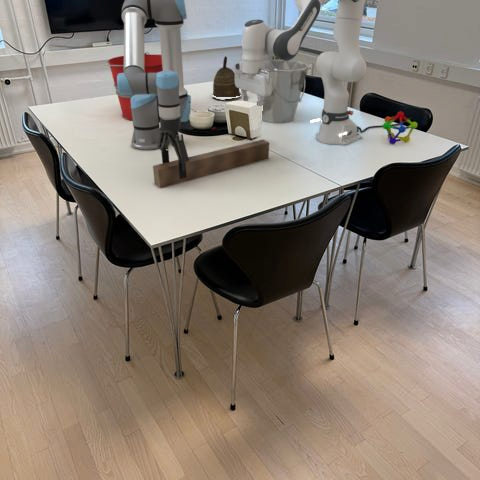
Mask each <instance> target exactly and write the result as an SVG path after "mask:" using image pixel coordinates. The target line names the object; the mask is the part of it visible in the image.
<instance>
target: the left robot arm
mask: <svg viewBox="0 0 480 480" xmlns="http://www.w3.org/2000/svg"><path fill="white" fill-rule="evenodd" d="M187 18H188V16H187V9H186V3H185V0H124V2H123V4H122V7H121V20H122V22H123V56H124V73H119V74H118V75H117V85H118V90H119V92H120V94H123V95H134V96H133V97H132V98H131V110H132V118H133V120H132V125H133V132H132V135H131V142H130V143H131V147H132V148H134V149H135V150H141V151H151V150H153V151H154V150H157V149H159V151H161V162H162V163H161V164H163V163H167V162H170V152H169V146H170V145H171V146H172V147H173V149H174V152H175V154H176V157H177V160H179V161H178V167H179V179H183V178H186V177H187V175H186V162H188V161H189V158H188V157H189V155H188V150H187V147H186V144H185V143H186V142H185V138H184V134H183V133H179V130H180V129H181V128H182V123H184V122H185V123H186V122H188V121H189V120H190V118H191V117H190V116H191V107H192V95H191V94H188V90H187V89H186V88H185V84H184V83H185V82H184V70H183V69H184V68H183V54H182V53H183V51H182V38H181V37H182V35H181V28H182V27H183V25H184V22H185V21H184V20H186V19H187ZM148 20H154V25H155V26H156V27H157V28H158V31H159V43H160V55H161V56H162V68H163V71H161V72H158V73H145V70H144V53H145V25H146V24H147V21H148ZM157 94H158V96H157Z"/></svg>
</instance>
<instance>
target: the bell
mask: <svg viewBox="0 0 480 480" xmlns="http://www.w3.org/2000/svg"><path fill="white" fill-rule="evenodd" d="M227 63H228V57H227V56H224V58H223V63H222V67H221V68H219V69H218V70H217V71H216V73H215V75H214V78H213V81H212V83H213V84H212V95H214V96H216V97H236V96H240V95H241V96H242V93H241V90H240V88H237V87H236V85H235V71H234V70H232V69H231V68H230V67H227Z"/></svg>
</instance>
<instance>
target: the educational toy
mask: <svg viewBox="0 0 480 480" xmlns="http://www.w3.org/2000/svg"><path fill="white" fill-rule="evenodd" d="M397 119H399V123H400V125H399V127H398V126H390V125H391V124H393V123H394V122H395V121H396V120H397ZM408 119H409V118H408V117H406V116H405V113H404V112H403V111H401V110H400V111H398V112H397V114H396V115H394V116H391V117H390V116H386V117H385V118H384V122H383V123H382V125H383V127H382V129H383V130H386V132H387V138H388V142H389V145H395V144H396V143H397V142H402V141H403V142H404V143H409V142H410V140H411V138H410V136H411V134H412V132H413V131H414V130H415V129H417V127H418V122H417V121H412V120H411V119H410V120H408ZM403 120H404V121H407V122H406V123H408V124H409V125H407V126H404V123H402V122H403ZM392 129H393V130H397V131H398V132H396V134H395V133H394V132H392ZM408 129H409V131H408V133H407V134H406V135H404V136H401V134H403V133H405V132H406V130H408ZM399 135H400V136H399Z"/></svg>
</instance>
